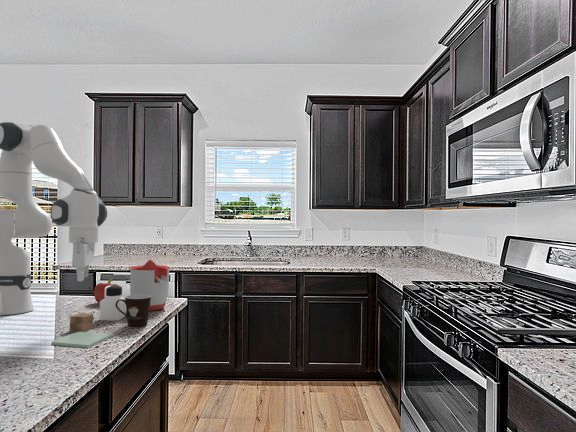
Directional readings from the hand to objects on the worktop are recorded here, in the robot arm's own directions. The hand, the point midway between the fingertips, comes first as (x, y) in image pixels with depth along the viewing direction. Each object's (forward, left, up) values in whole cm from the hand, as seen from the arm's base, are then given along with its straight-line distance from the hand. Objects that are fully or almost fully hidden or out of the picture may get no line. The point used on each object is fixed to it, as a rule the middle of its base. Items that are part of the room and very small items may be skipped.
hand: (82, 278), depth 150 cm
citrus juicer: (+6, +36, -17) cm, 40 cm away
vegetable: (-16, +41, -17) cm, 47 cm away
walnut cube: (0, 0, -17) cm, 17 cm away
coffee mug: (+13, +11, -17) cm, 24 cm away
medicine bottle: (+1, +17, -17) cm, 24 cm away
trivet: (+8, -11, -17) cm, 22 cm away
